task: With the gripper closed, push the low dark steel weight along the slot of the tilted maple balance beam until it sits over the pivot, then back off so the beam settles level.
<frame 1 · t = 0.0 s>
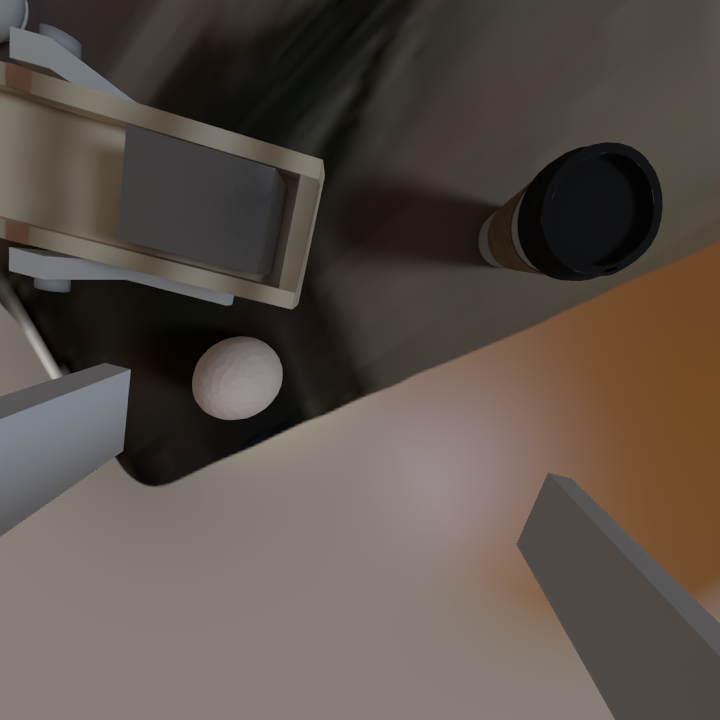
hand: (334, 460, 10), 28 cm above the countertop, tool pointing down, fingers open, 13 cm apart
coffee cup: (505, 239, 35), on the countertop
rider: (224, 217, 24), point 12 cm above the countertop, tilted 5°, touching beam
stand: (160, 208, 35), on the countertop
beam: (44, 168, 22), point 13 cm above the countertop, hinge at 5.2°, touching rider
egg: (258, 363, 39), on the countertop
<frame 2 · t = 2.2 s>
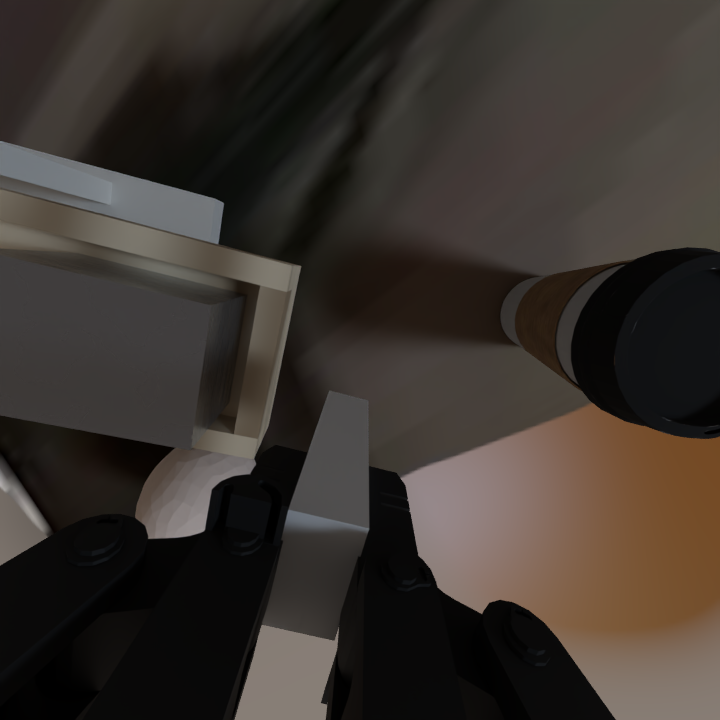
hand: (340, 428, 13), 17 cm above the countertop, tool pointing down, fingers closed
coffee cup: (534, 312, 28), on the countertop
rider: (159, 333, 17), point 12 cm above the countertop, tilted 5°, touching beam
stand: (105, 274, 28), on the countertop
egg: (231, 453, 32), on the countertop
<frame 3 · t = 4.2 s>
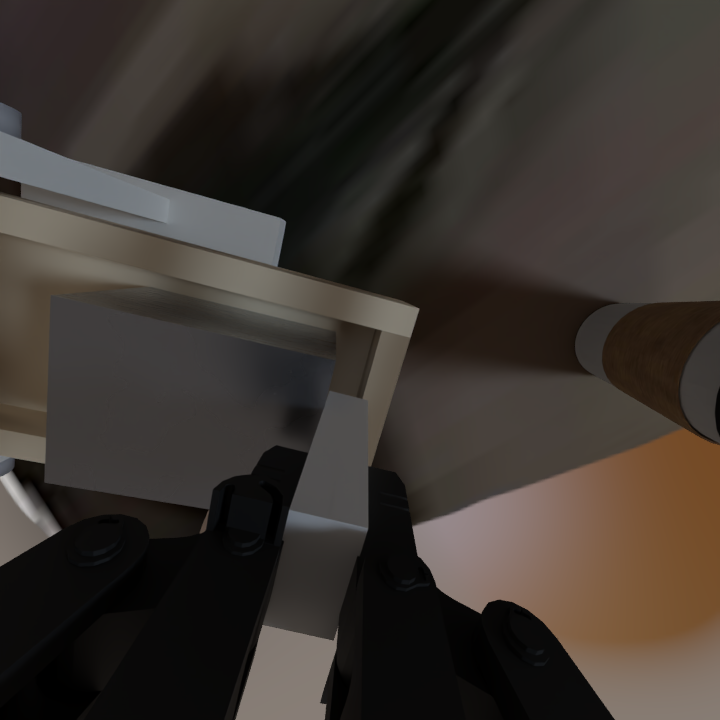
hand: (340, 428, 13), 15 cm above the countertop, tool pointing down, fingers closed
coffee cup: (610, 340, 27), on the countertop
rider: (235, 374, 15), point 12 cm above the countertop, tilted 5°, touching beam, gripper
stand: (153, 295, 26), on the countertop
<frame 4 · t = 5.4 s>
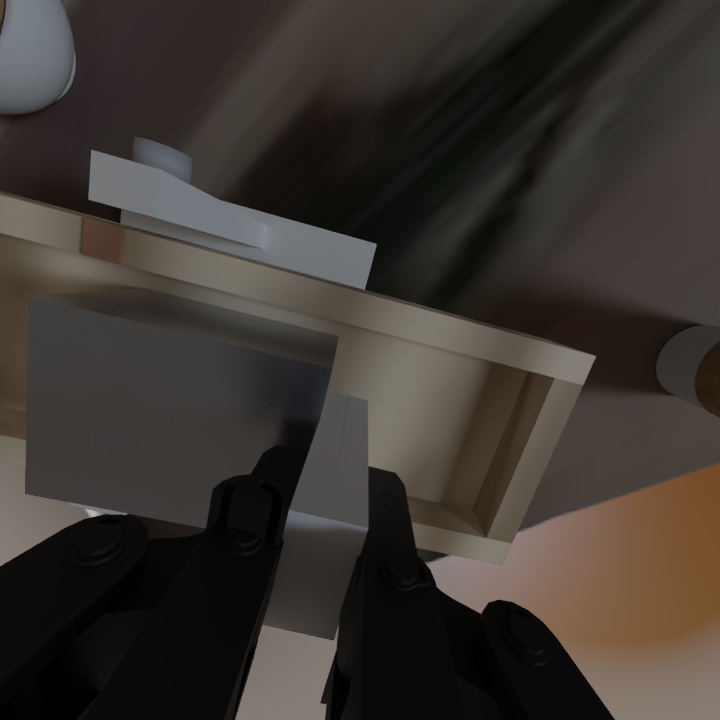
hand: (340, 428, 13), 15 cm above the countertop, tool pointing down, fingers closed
lidded jar: (34, 55, 23), on the countertop
coffee cup: (690, 361, 27), on the countertop
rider: (232, 380, 14), point 13 cm above the countertop, touching beam
stand: (240, 317, 27), on the countertop
beam: (128, 352, 14), point 13 cm above the countertop, hinge at 2.5°, touching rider
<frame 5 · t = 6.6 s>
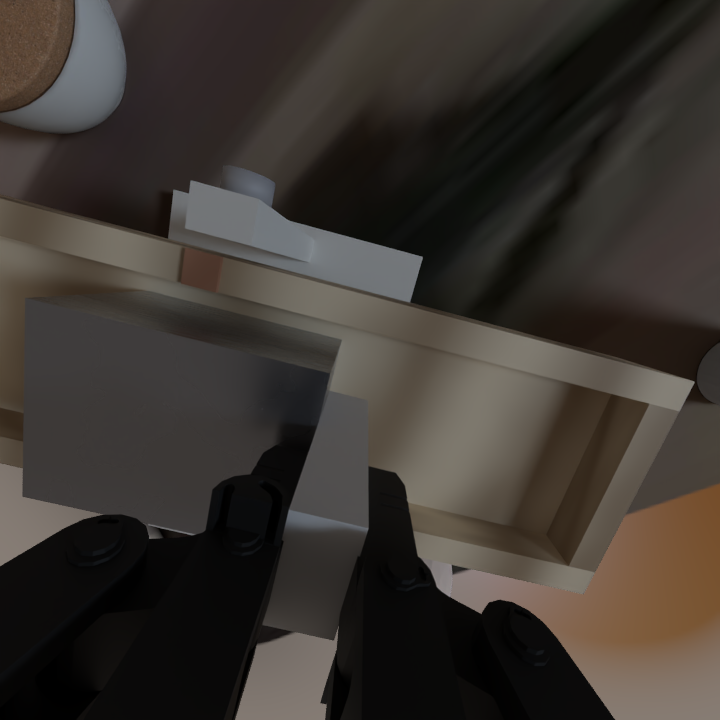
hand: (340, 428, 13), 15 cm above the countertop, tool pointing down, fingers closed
lidded jar: (83, 73, 23), on the countertop
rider: (234, 383, 14), point 13 cm above the countertop, touching beam, gripper
stand: (283, 329, 27), on the countertop
beam: (208, 375, 14), point 13 cm above the countertop, hinge at 0.6°, touching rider
egg: (391, 510, 31), on the countertop
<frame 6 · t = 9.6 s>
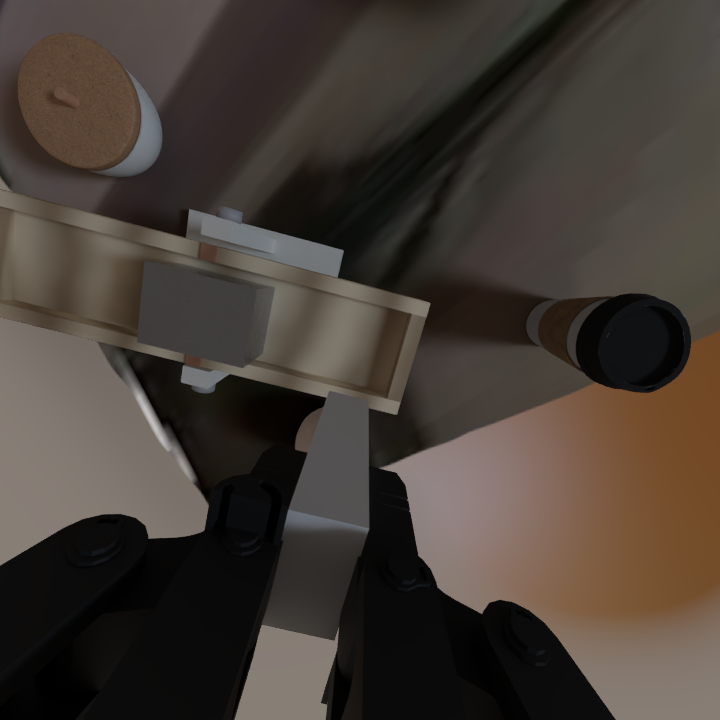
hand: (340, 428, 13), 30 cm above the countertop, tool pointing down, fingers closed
lidded jar: (134, 138, 38), on the countertop
coffee cup: (548, 323, 42), on the countertop
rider: (223, 310, 29), point 13 cm above the countertop, touching beam
stand: (258, 297, 42), on the countertop
beam: (211, 305, 29), point 13 cm above the countertop, hinge at 0.6°, touching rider
egg: (333, 422, 46), on the countertop
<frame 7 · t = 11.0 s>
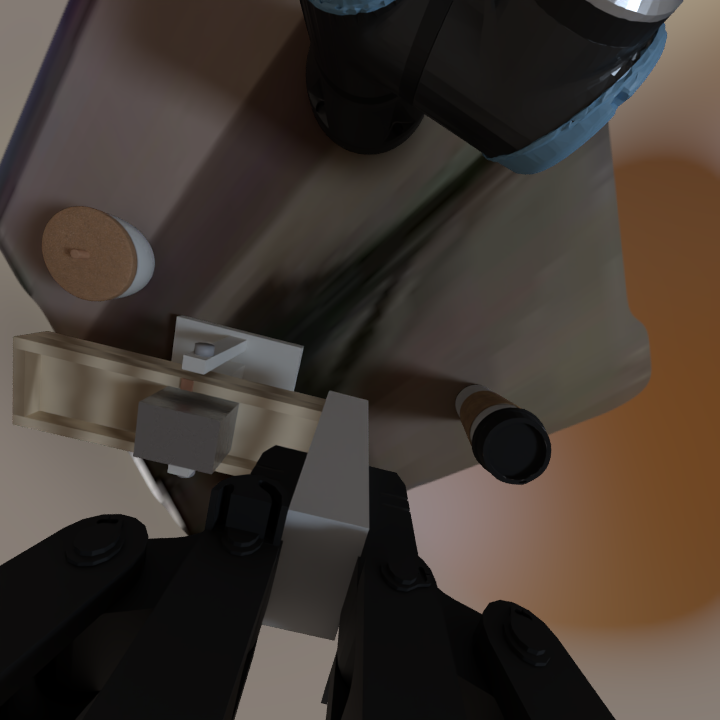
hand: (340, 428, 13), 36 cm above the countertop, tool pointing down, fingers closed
lidded jar: (132, 259, 47), on the countertop
coffee cup: (474, 402, 51), on the countertop
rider: (200, 418, 38), point 13 cm above the countertop, touching beam
stand: (234, 381, 50), on the countertop
beam: (190, 415, 38), point 13 cm above the countertop, hinge at 0.6°, touching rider
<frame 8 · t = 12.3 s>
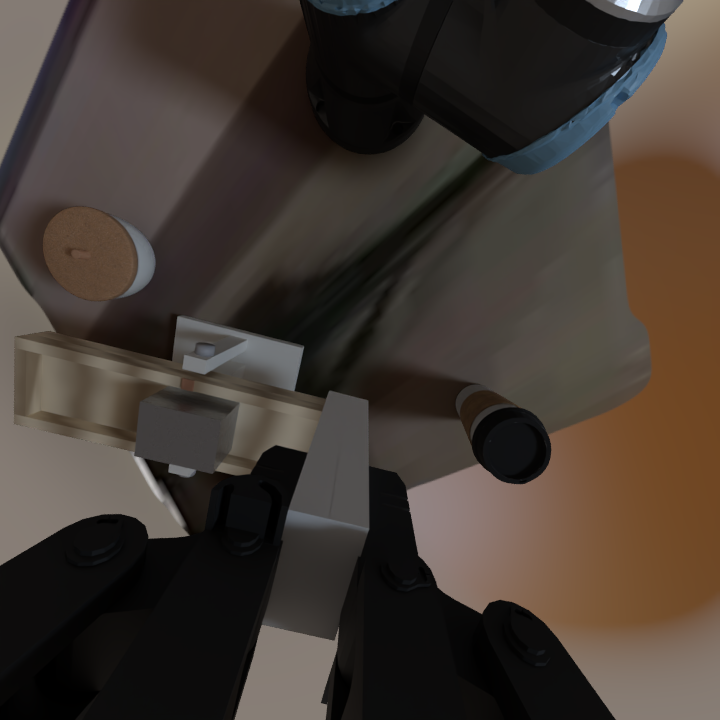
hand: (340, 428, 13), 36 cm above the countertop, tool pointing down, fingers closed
lidded jar: (133, 259, 47), on the countertop
coffee cup: (474, 402, 51), on the countertop
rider: (201, 418, 38), point 13 cm above the countertop, touching beam
stand: (235, 381, 51), on the countertop
beam: (191, 415, 38), point 13 cm above the countertop, hinge at 0.6°, touching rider
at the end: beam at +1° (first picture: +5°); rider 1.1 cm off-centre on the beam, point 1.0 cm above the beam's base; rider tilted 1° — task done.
